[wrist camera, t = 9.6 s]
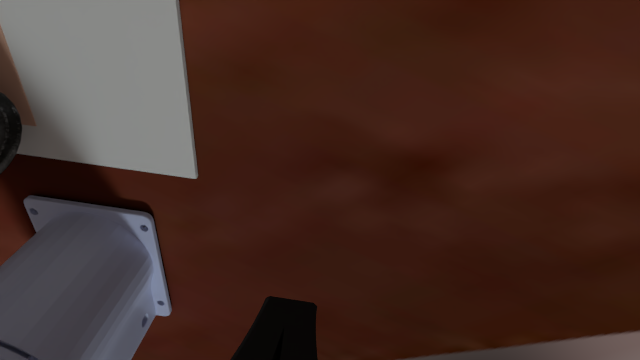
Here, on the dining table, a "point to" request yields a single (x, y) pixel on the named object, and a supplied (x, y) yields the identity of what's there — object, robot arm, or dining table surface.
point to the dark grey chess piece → (8, 131)
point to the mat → (99, 82)
